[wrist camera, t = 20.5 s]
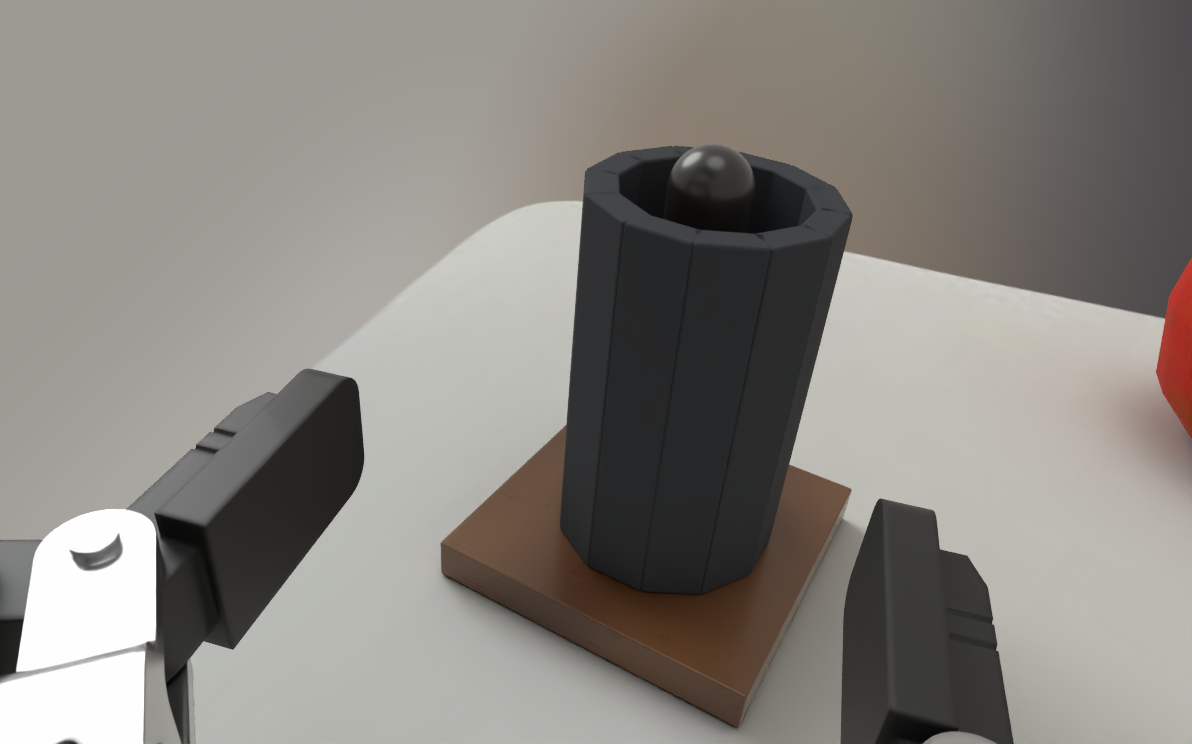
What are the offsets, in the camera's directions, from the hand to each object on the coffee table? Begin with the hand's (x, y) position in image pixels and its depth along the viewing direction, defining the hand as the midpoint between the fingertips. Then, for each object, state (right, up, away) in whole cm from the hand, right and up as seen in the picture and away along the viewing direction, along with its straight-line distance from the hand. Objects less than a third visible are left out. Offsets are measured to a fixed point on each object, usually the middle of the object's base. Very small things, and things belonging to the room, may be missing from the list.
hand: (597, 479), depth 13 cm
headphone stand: (+2, -3, +13) cm, 13 cm away
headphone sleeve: (+2, -3, +12) cm, 13 cm away
